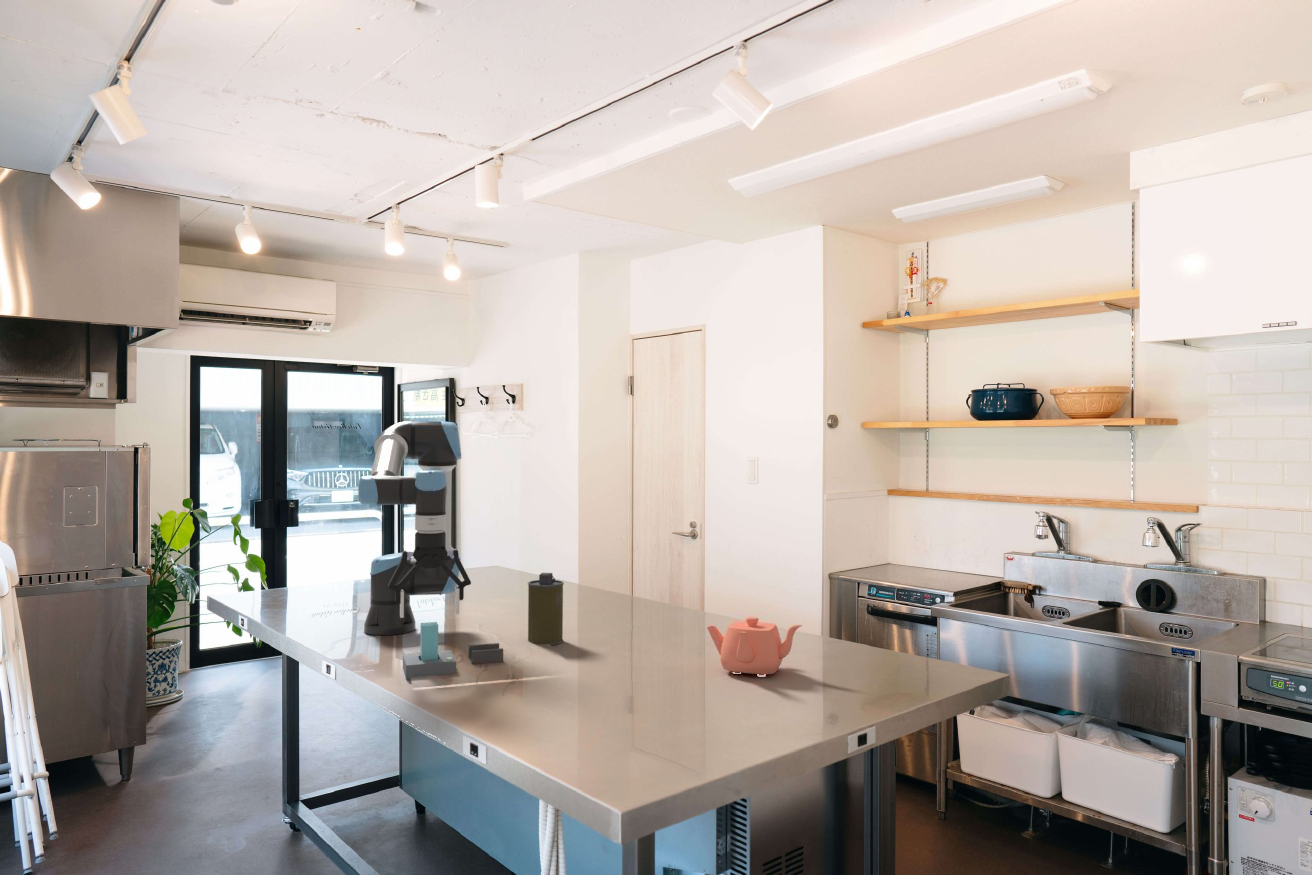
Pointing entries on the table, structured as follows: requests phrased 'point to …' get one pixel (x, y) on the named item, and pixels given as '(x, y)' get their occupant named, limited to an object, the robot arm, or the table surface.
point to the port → (428, 665)
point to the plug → (429, 641)
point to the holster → (485, 653)
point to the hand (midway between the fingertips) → (429, 614)
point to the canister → (545, 610)
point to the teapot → (752, 646)
